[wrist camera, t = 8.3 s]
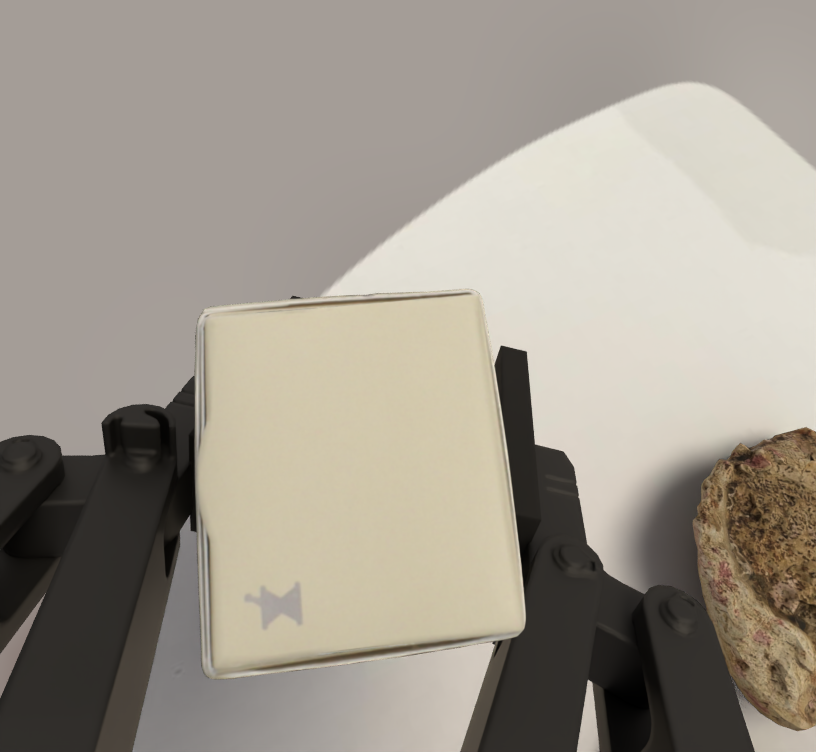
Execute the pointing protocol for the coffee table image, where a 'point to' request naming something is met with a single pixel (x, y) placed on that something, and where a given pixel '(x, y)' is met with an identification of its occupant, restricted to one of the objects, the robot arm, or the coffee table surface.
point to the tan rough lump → (764, 572)
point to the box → (350, 483)
